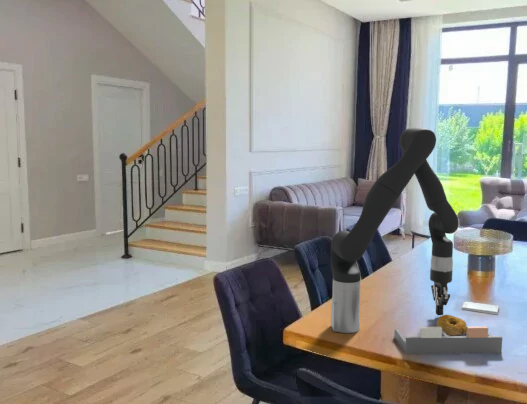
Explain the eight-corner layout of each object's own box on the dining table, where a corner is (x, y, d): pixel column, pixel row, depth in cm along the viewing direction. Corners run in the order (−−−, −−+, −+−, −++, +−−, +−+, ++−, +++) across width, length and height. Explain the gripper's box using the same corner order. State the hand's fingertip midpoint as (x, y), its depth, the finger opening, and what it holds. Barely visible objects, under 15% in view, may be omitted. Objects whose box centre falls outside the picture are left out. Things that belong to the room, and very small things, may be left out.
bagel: (435, 335, 172) (436, 321, 171) (437, 324, 182) (437, 311, 182) (467, 339, 169) (468, 325, 168) (467, 328, 179) (468, 315, 178)
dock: (406, 354, 157) (407, 328, 156) (394, 337, 170) (395, 313, 169) (501, 353, 157) (503, 327, 156) (482, 336, 170) (483, 313, 169)
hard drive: (499, 305, 199) (464, 300, 205) (497, 311, 192) (461, 306, 197) (498, 309, 199) (464, 304, 205) (497, 316, 192) (461, 310, 198)
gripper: (424, 263, 193) (423, 308, 195) (437, 272, 180) (435, 321, 182) (445, 263, 193) (442, 308, 195) (459, 272, 180) (456, 321, 182)
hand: (439, 314), depth 189 cm, fingers closed
